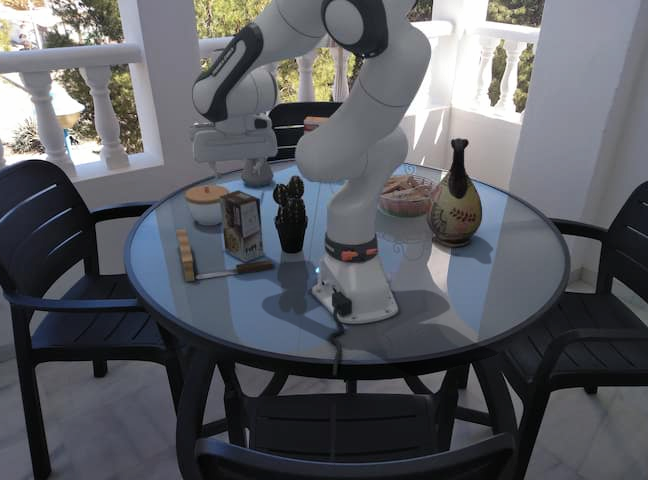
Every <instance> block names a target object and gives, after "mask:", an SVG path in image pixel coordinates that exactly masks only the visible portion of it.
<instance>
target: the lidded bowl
mask: <svg viewBox="0 0 648 480" xmlns="http://www.w3.org/2000/svg"><path fill="white" fill-rule="evenodd" d="M229 193H230V191H229V189H228V188H226V187H225V186H222V185H216V184H204V185H197V186H194V187H191V188H189V189H187V190H186V191H185V193H184V198H185V203H186V208H187V211H188V213H189V215H190V217H191V218H192V219H193V220H194V221H196V222H197V223H198V224H199V225H201V226H206V227H207V226H208V227H209V226H216V225H219V224H220V223H221V224H222V217H221V208H220V199H219V197H220V196H223V195H226V194H229Z"/></svg>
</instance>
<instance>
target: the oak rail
mask: <svg viewBox="0 0 648 480" xmlns="http://www.w3.org/2000/svg"><path fill="white" fill-rule="evenodd" d="M176 234H177V240H178V245H179V246H178V247H179V251H180V255H181V256H180V257H181V262H182V266H183V272H184V277H185V282H193V281H195V280H196V278H195V273H194V264H193V263H194V260H193V259H194V258H193V255H192V250H191V246H190V241H189V237H188V232H187V229H186V228H182V229H176Z"/></svg>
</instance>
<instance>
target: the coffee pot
mask: <svg viewBox="0 0 648 480" xmlns="http://www.w3.org/2000/svg"><path fill="white" fill-rule="evenodd" d="M240 160H241V161H242V162H244V165H243V168H242V171H241V174H240V178H241V181H242V182H244V184H246V185H247V186H248V187H250V188H251V187H252V188H263V187H266V186H268V185H269V184H270V183H271V182H272V181H273V179H274V176H275V175H274V172H273V170H272V169H271V166H270V165H269V162H268V160H267V157H264V162H263V164H262V166H261V168H260V175H254V174H253V167H254V166H256V164H257V162H258V160H257V158H252V159H245V161H244V159H240Z"/></svg>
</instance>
